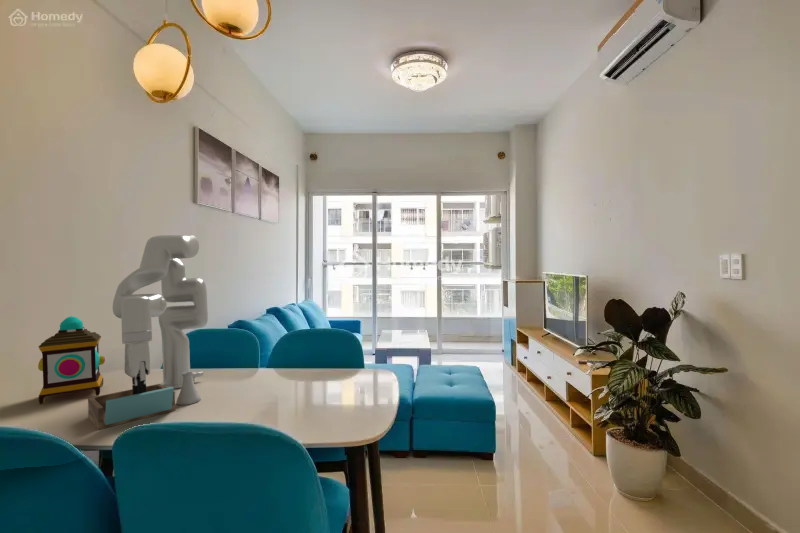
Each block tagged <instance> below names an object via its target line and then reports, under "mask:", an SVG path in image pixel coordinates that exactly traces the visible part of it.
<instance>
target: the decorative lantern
mask: <svg viewBox="0 0 800 533" xmlns="http://www.w3.org/2000/svg"><path fill="white" fill-rule="evenodd" d="M101 338H102V336H101V335H100V334H99V333H97V332H91V331H90V330H88V329H87V328H85V326H84V323H83V321H82V320H81V319H80V318H78V317H76V316H72V315H70V316H67V317H66V318H65V319H63V320H62V321H61V322H60V324H59V329H58V331H57V332H56V333H55V334H54V335H51V336H50V337H48V338H46V339H45V340H44V341H43V342H41V344H40V345H38V349H39V351H40V352H41V354H42V357H41V358H40V359H39V362H38V366H37V367H38V370H39V371H40V372H42V384H43V386H42V389H41V390H40V392H39V394H38V404H39V405H41V406H43V405H45V402H46V398H47V397H51V396H52V397H53V396H58V395H63V394H70V393H71V394H72V393H79V392H82V391H84V392H85V391H90V390H93V391H94V395H95V397H96V396H100V394H101V388H102V387H103V386H104V378H103V375H102V374H101V372H100V366H101V365H104V364H105V361H106V359H105V356H103V355H100V352H99V351H100V350H99V343H100V341H101ZM42 404H43V405H42Z"/></svg>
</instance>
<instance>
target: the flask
mask: <svg viewBox="0 0 800 533" xmlns="http://www.w3.org/2000/svg"><path fill="white" fill-rule="evenodd" d="M193 372H194V371H191V372H186V373H183V374H182V375H183V384H182V388H180V391H179V395H178V396H177V400H176V401H175V405H179V406H180V405H181V406H183V405H192V404H194V403H195V404H196V403H199V401H201V400H202V399H201V396H200V394H199V391H198V390H197V388H196V385H195V383H194V382H193V378H192V374H193Z"/></svg>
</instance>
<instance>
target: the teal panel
mask: <svg viewBox="0 0 800 533" xmlns="http://www.w3.org/2000/svg"><path fill="white" fill-rule="evenodd" d="M174 390H175V389H174V388H173V387H168V388H163V389H159V390H154V391H149V392H144V393H140V394H135V395H130V396H125V397H121V398H116V399H111V400H107V401H106V411H105V425H108V424H112V423H116V422H120V421H125V420H129V419H133V418H137V417H141V416H145V415H149V414H153V413H157V412H161V411H165V410H169V409H172V401H173V391H174ZM174 392H175V391H174Z"/></svg>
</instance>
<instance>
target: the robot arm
mask: <svg viewBox="0 0 800 533" xmlns="http://www.w3.org/2000/svg"><path fill="white" fill-rule="evenodd" d="M199 249H200V243H199V240H198V238H197V236H195V235H193V234H173V235H172V234H166V235H165V234H164V235H163V234H162V235H155V236H152V237H149V239H147V241H146V242H145V246H144V249H143V254H142V257H141V261H140V265H139V268H137V269H136V270H134V271H132V272H131V273H130V274H128V275H127V276H126V277H125V278H124V279H122V280H121V281H120V283H119V284H118V285H117V288H116V291H115V294H114V297H113V301H112V313H113V315H114V316H115V317H116V318H118V319H120V320H121V340H122V345H124V373H125V375H127V376H129V377H130V378H131V381H132V385H131V386H132V390H133V395H135V394H140V393H144V392H146V386H147V376H148V375H150V374H151V356H150V352H151V351H150V345H149V344H150V343H149V342H152V341H153V331H152V330H153V327H152V318H156V317H157V319H158V325H159V328H160V332H161V334H160V336H161V353H162V354H161V355H162V356H161V358H162V379H163V380H162V381H163V382H161V383H160V384H161V385H163V386H165V387H167V388H168V387H173V388H174V390H176V389H181V388H182V384H183V375H182V374H183V373H186V372H193V374H192V378H193V382H194V384H195V383H196V380H195V378H198V377H199V378H200V377H203V376H204V372H203V370H202V371H191V362H190V360H191V359H190V358H191V357H190V355H191V354H190V339H189V337H188V335H187V334H186V333H185V332H184V331H183V330H194V329H202V328H204V327H206V325H207V323H208V320H209V319H208V318H209V315H208V314H209V312H208V294H207V293H208V292H207V286H206V283H205V281H204V280H203V279H202V278H198V277H191V278H188V277H186V267H185V264H184V263H183V261H182V259H191V258H194V257H195V256H197V254H198V253H199ZM158 282H160V284H161V285H160V286H161V294H158V293H139V294H136V293H135V292H136V291H138V290H140V289H142V288H144V287H147V286H150V285H153V284H155V283H158ZM134 293H135V294H134ZM167 303H173V304H175V303H193V304H191V305H190V304H188V305H172V306H171V305H170V306H167Z"/></svg>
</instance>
